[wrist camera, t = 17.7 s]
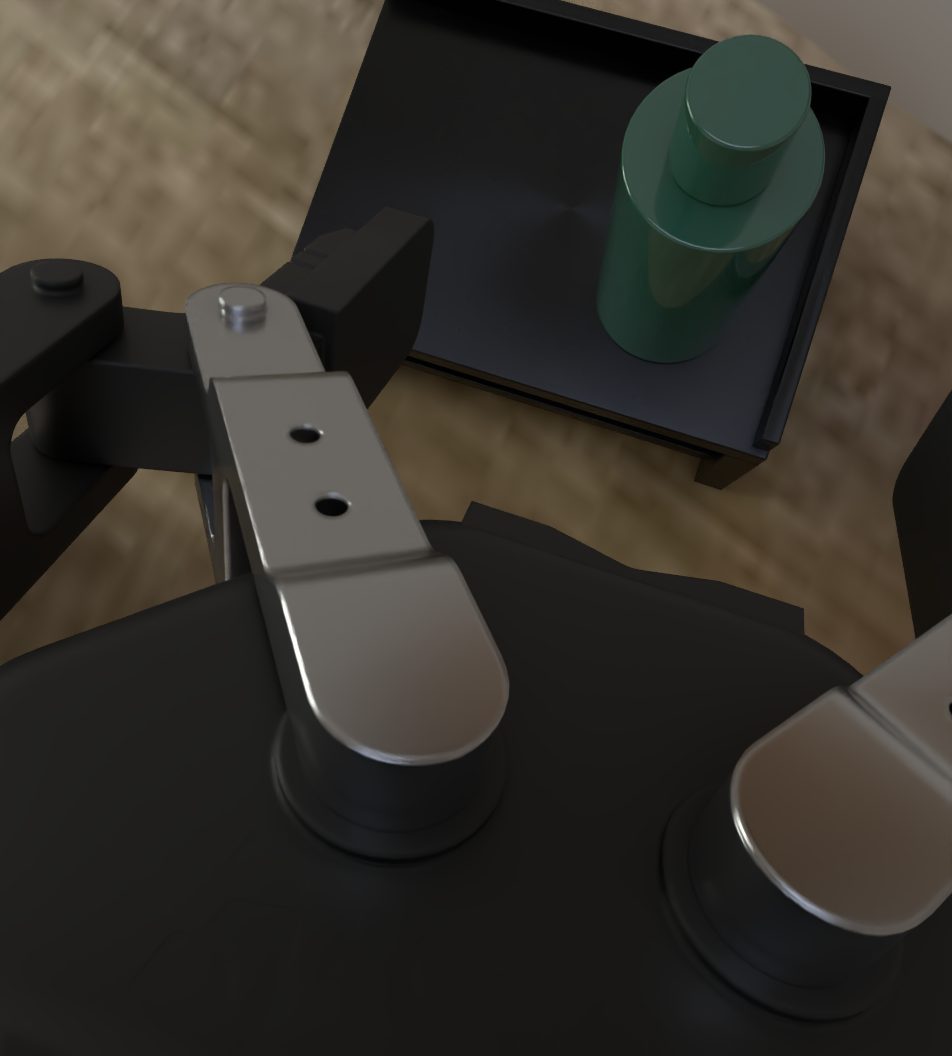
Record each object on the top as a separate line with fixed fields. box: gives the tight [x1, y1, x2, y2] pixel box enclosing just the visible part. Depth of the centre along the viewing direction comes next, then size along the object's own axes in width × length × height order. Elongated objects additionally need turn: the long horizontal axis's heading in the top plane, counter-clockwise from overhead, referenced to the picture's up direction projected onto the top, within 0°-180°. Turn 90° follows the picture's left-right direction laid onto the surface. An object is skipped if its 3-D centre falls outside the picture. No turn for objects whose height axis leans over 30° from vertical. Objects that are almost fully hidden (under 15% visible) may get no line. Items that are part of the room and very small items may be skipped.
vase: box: [596, 34, 825, 363], centre depth 23 cm, size 5×5×12 cm
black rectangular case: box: [290, 0, 891, 490], centre depth 32 cm, size 18×13×8 cm
